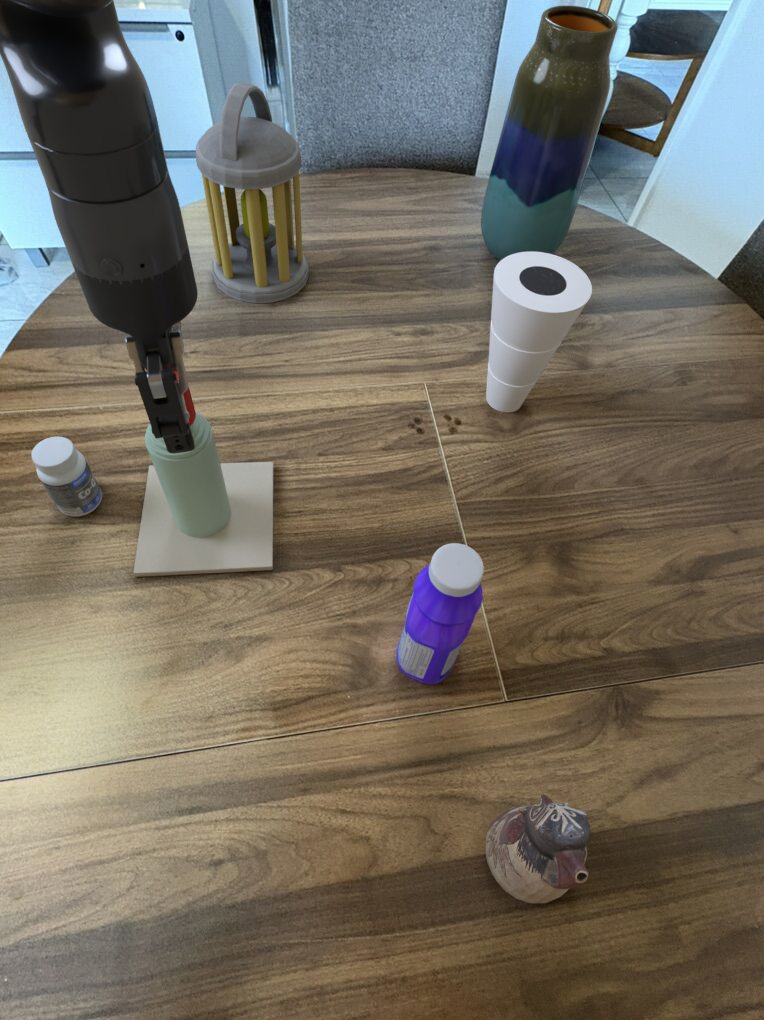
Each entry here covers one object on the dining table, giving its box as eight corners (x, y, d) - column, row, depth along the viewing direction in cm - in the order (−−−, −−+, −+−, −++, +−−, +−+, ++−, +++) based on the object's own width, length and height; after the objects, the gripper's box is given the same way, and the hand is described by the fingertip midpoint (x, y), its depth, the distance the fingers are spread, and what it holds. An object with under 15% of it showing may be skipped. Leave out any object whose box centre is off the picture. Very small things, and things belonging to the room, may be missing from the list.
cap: (198, 400, 55) (190, 369, 52) (194, 433, 53) (186, 402, 50) (153, 401, 55) (142, 369, 52) (147, 434, 53) (136, 402, 50)
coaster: (134, 577, 63) (132, 573, 62) (150, 469, 71) (149, 465, 70) (273, 570, 64) (272, 566, 64) (273, 465, 72) (273, 461, 71)
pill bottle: (97, 518, 66) (70, 470, 59) (52, 517, 66) (19, 469, 59) (108, 483, 69) (83, 433, 62) (64, 481, 69) (35, 432, 62)
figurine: (563, 808, 53) (616, 781, 43) (574, 906, 49) (636, 900, 39) (481, 804, 53) (516, 776, 43) (486, 902, 49) (526, 895, 39)
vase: (521, 289, 95) (592, 50, 69) (456, 246, 100) (500, 10, 74) (575, 257, 101) (659, 26, 75) (511, 218, 106) (569, -10, 80)
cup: (506, 360, 85) (543, 241, 70) (560, 408, 81) (612, 291, 66) (447, 390, 81) (473, 270, 66) (501, 441, 77) (542, 325, 62)
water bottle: (173, 540, 65) (124, 420, 49) (175, 494, 68) (131, 368, 53) (231, 535, 65) (201, 415, 50) (231, 490, 69) (202, 365, 54)
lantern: (238, 237, 97) (214, 51, 77) (322, 259, 96) (320, 75, 75) (196, 288, 89) (155, 96, 69) (286, 313, 88) (272, 124, 67)
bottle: (412, 610, 63) (436, 516, 49) (464, 630, 62) (505, 541, 48) (386, 674, 59) (405, 592, 45) (442, 697, 58) (479, 621, 44)
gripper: (196, 303, 37) (231, 468, 51) (178, 181, 45) (213, 352, 58) (64, 317, 36) (136, 483, 49) (69, 188, 43) (130, 362, 57)
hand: (178, 412), depth 54 cm, fingers open, 8 cm apart
